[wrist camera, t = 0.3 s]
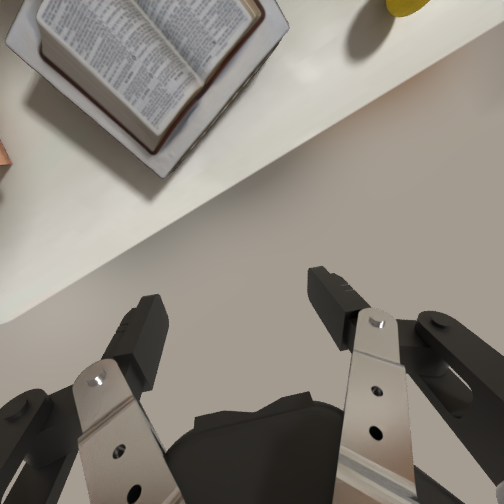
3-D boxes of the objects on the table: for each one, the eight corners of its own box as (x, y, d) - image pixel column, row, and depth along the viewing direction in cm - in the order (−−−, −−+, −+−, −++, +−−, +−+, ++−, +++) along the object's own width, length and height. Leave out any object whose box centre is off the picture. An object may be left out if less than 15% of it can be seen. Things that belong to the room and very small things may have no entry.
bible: (9, 20, 25) (-100, -47, 17) (187, -159, 22) (169, -361, 13) (154, 186, 36) (135, 199, 27) (291, 82, 32) (319, 57, 24)
